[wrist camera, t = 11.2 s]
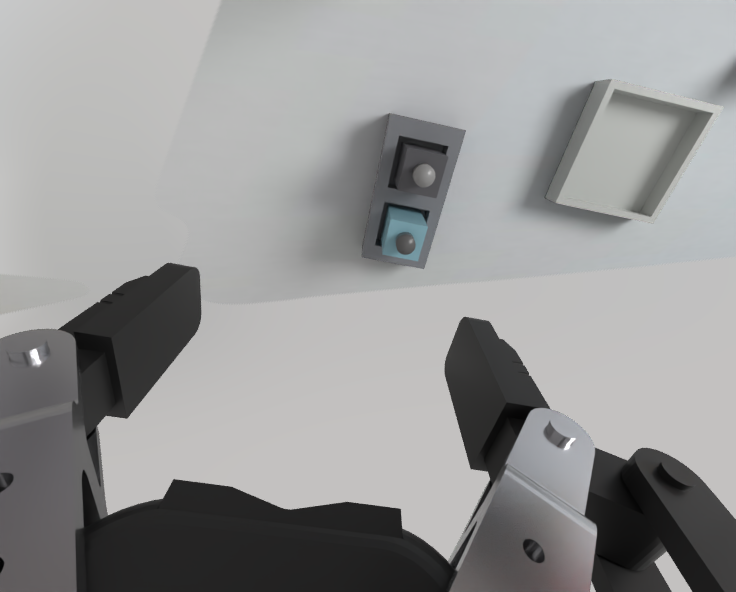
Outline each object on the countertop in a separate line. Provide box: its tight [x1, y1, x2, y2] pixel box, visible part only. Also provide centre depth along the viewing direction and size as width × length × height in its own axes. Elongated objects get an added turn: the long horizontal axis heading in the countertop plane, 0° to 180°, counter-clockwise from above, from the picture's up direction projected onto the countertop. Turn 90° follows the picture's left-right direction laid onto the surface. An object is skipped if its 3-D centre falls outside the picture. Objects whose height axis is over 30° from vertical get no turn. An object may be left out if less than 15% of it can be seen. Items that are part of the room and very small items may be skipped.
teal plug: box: [381, 203, 428, 261], centre depth 39 cm, size 4×4×8 cm
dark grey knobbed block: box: [394, 142, 448, 198], centre depth 36 cm, size 4×4×8 cm
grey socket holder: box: [362, 113, 466, 269], centre depth 40 cm, size 16×8×4 cm, turn 169°
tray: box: [545, 79, 724, 224], centre depth 38 cm, size 12×12×3 cm
